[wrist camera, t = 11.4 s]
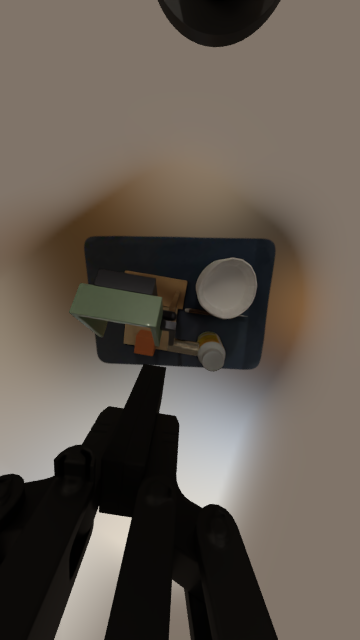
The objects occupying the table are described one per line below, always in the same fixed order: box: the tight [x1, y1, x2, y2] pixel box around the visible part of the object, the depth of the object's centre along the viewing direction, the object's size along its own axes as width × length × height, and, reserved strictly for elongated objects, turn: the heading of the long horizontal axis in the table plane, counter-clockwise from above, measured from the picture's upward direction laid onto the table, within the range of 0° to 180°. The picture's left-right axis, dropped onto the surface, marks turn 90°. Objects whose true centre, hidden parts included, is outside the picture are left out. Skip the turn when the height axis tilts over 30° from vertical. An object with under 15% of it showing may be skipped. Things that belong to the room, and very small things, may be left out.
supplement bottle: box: [197, 332, 225, 371], centre depth 40 cm, size 5×5×10 cm
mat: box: [124, 306, 178, 351], centre depth 44 cm, size 10×11×1 cm
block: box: [134, 330, 156, 356], centre depth 43 cm, size 4×4×4 cm
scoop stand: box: [125, 270, 187, 312], centre depth 33 cm, size 6×13×18 cm, turn 81°
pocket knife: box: [185, 308, 248, 317], centre depth 42 cm, size 14×1×2 cm, turn 85°
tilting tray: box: [69, 269, 199, 356], centre depth 26 cm, size 15×16×5 cm
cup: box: [196, 258, 257, 319], centre depth 36 cm, size 10×10×10 cm
